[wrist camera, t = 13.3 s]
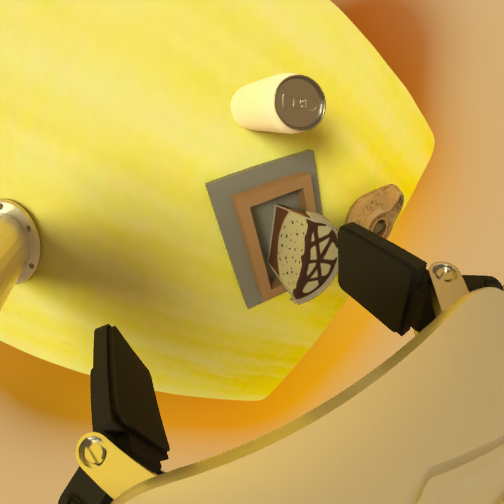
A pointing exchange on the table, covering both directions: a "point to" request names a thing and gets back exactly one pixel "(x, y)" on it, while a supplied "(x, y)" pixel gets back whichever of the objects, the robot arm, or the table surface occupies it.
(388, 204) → the oil lamp
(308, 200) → the tray
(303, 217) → the food container
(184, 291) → the table surface
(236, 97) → the can
